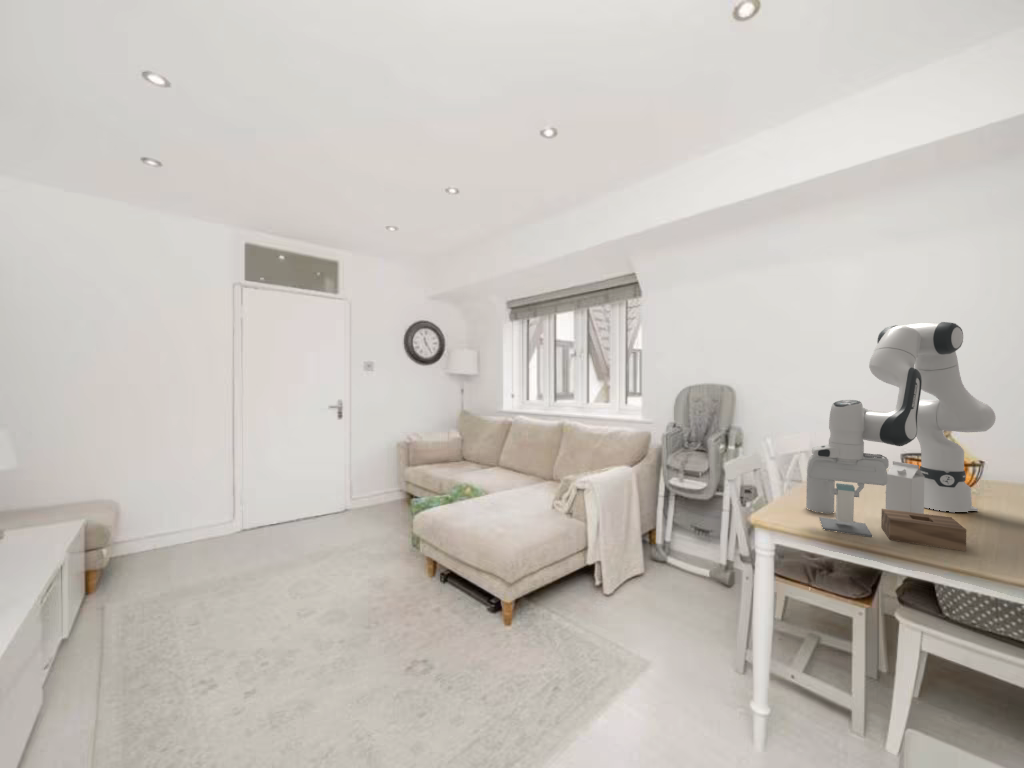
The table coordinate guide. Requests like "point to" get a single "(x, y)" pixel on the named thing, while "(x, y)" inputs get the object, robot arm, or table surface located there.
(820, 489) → the cup
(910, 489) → the milk carton
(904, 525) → the block
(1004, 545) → the table surface
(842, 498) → the plug
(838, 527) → the mat
